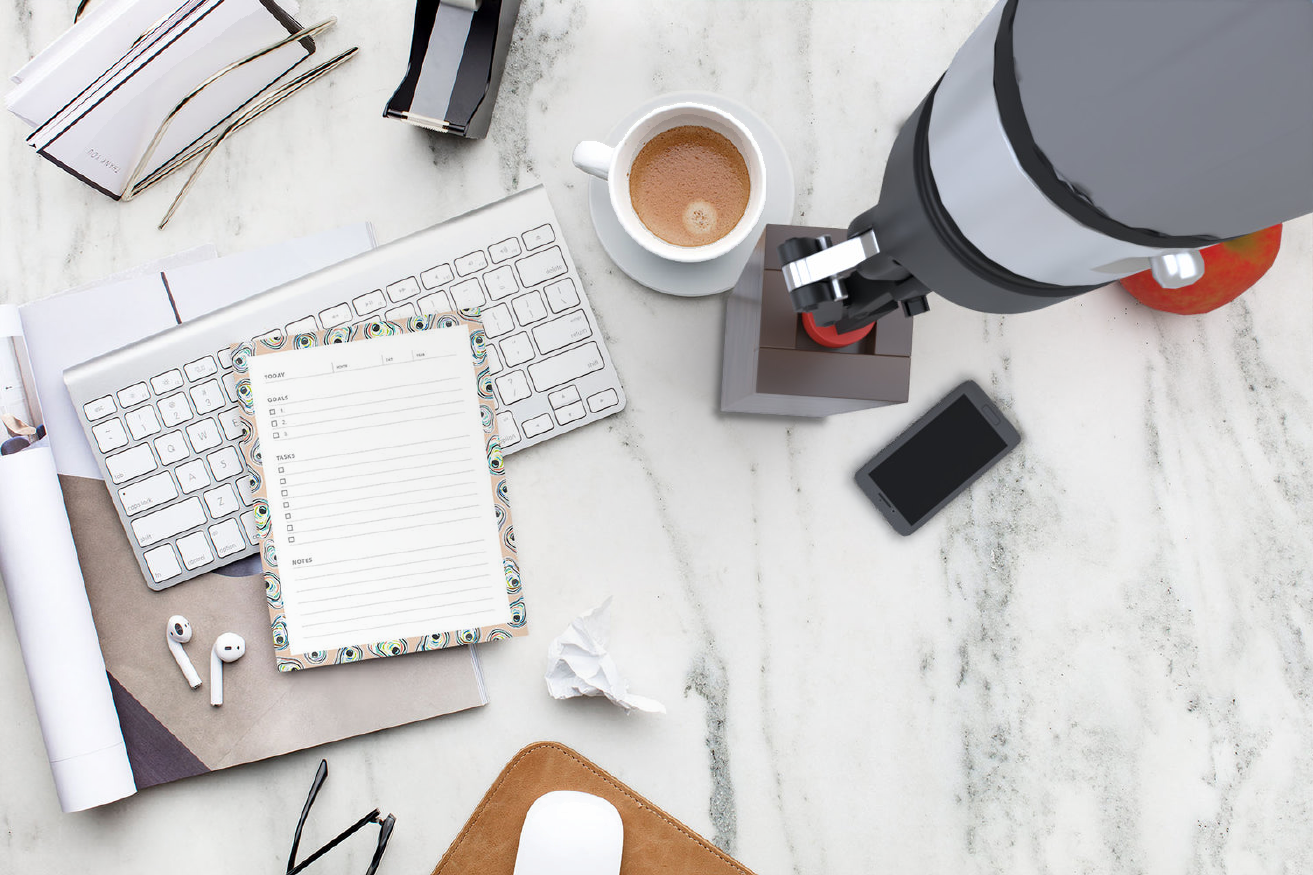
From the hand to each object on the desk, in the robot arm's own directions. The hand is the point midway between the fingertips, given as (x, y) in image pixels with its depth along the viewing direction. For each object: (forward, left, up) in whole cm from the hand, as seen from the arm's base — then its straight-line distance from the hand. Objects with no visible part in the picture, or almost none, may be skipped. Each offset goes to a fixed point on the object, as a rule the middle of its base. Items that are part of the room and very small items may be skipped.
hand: (843, 308), depth 44 cm
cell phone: (+8, +15, -26) cm, 31 cm away
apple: (-11, +34, -26) cm, 44 cm away
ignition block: (0, 0, -26) cm, 26 cm away
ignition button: (0, 0, -2) cm, 2 cm away
